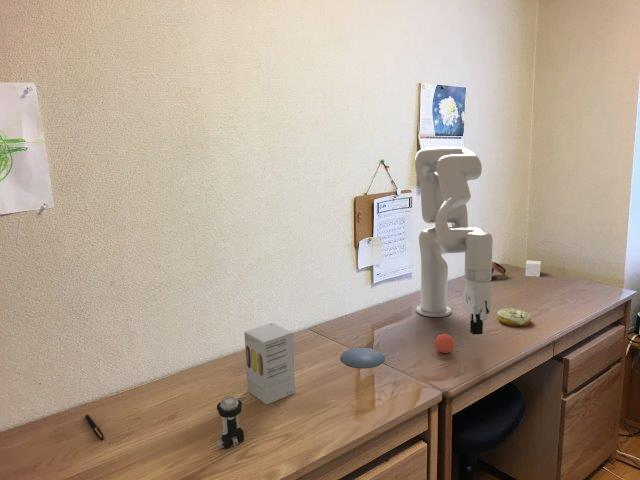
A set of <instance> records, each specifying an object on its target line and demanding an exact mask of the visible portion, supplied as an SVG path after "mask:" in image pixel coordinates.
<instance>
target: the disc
mask: <svg viewBox="0 0 640 480" xmlns="http://www.w3.org/2000/svg"><path fill="white" fill-rule="evenodd" d="M340 360H341V362H342V363H343V364H345V365H347V366H350V367H352V368H358V369H367V368H374V367H378V366H379V365H381V364H382V363H384V362H385V355H384V354H383V353H382V352H381V351H379V350H376V349H373V348H369V347H356V348H350V349H348V350H347V349H346V350H345V351H344V352H342V353H341V354H340Z"/></svg>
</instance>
